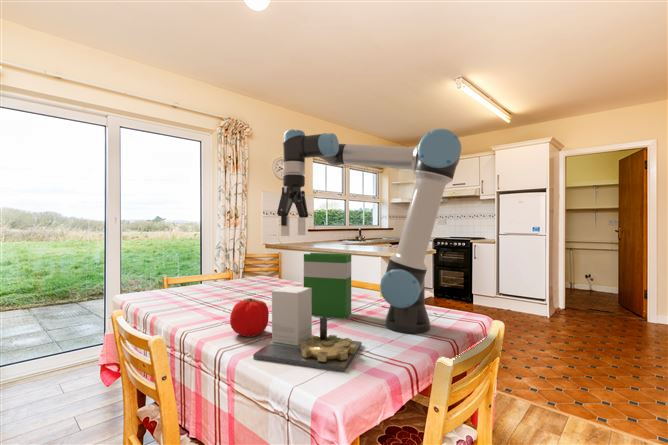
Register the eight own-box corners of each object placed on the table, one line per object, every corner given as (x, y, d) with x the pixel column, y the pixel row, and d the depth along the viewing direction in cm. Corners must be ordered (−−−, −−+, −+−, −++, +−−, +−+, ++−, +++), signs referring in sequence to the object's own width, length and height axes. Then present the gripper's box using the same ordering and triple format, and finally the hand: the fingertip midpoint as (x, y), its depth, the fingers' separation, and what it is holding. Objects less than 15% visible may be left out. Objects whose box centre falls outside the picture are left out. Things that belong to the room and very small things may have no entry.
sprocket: (364, 357, 82) (364, 327, 83) (308, 365, 77) (308, 333, 78) (343, 338, 96) (343, 312, 97) (294, 344, 91) (294, 317, 92)
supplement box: (312, 336, 98) (312, 287, 99) (298, 346, 90) (298, 292, 90) (287, 332, 102) (287, 285, 102) (270, 342, 94) (271, 290, 94)
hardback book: (303, 314, 129) (303, 254, 129) (310, 309, 136) (311, 252, 136) (345, 318, 123) (345, 255, 123) (351, 313, 130) (351, 253, 130)
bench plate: (361, 345, 94) (361, 341, 94) (344, 372, 77) (344, 366, 77) (284, 336, 102) (284, 332, 102) (253, 358, 85) (253, 353, 85)
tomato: (232, 343, 96) (232, 304, 96) (227, 330, 108) (228, 295, 109) (272, 337, 101) (273, 300, 101) (264, 326, 113) (264, 293, 113)
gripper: (298, 180, 127) (298, 234, 127) (266, 169, 103) (266, 236, 103) (316, 179, 125) (316, 234, 124) (288, 168, 101) (287, 236, 100)
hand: (293, 235), depth 113 cm, fingers open, 13 cm apart
